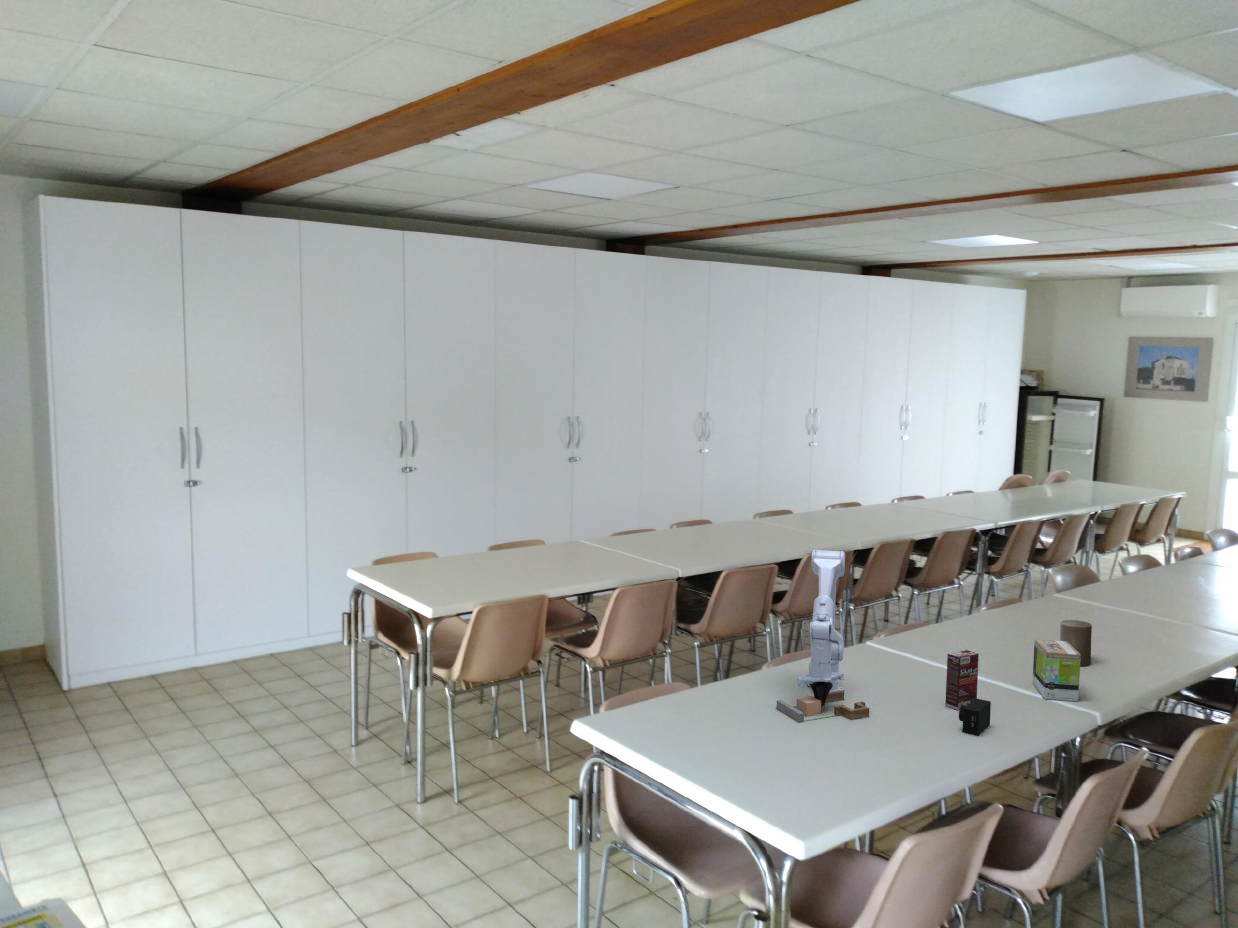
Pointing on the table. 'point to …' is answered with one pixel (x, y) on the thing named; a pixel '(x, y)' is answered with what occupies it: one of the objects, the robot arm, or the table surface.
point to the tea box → (1056, 670)
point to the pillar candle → (1078, 638)
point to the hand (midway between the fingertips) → (820, 705)
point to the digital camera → (975, 716)
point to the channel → (851, 714)
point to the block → (809, 705)
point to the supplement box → (961, 678)
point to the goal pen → (795, 712)
